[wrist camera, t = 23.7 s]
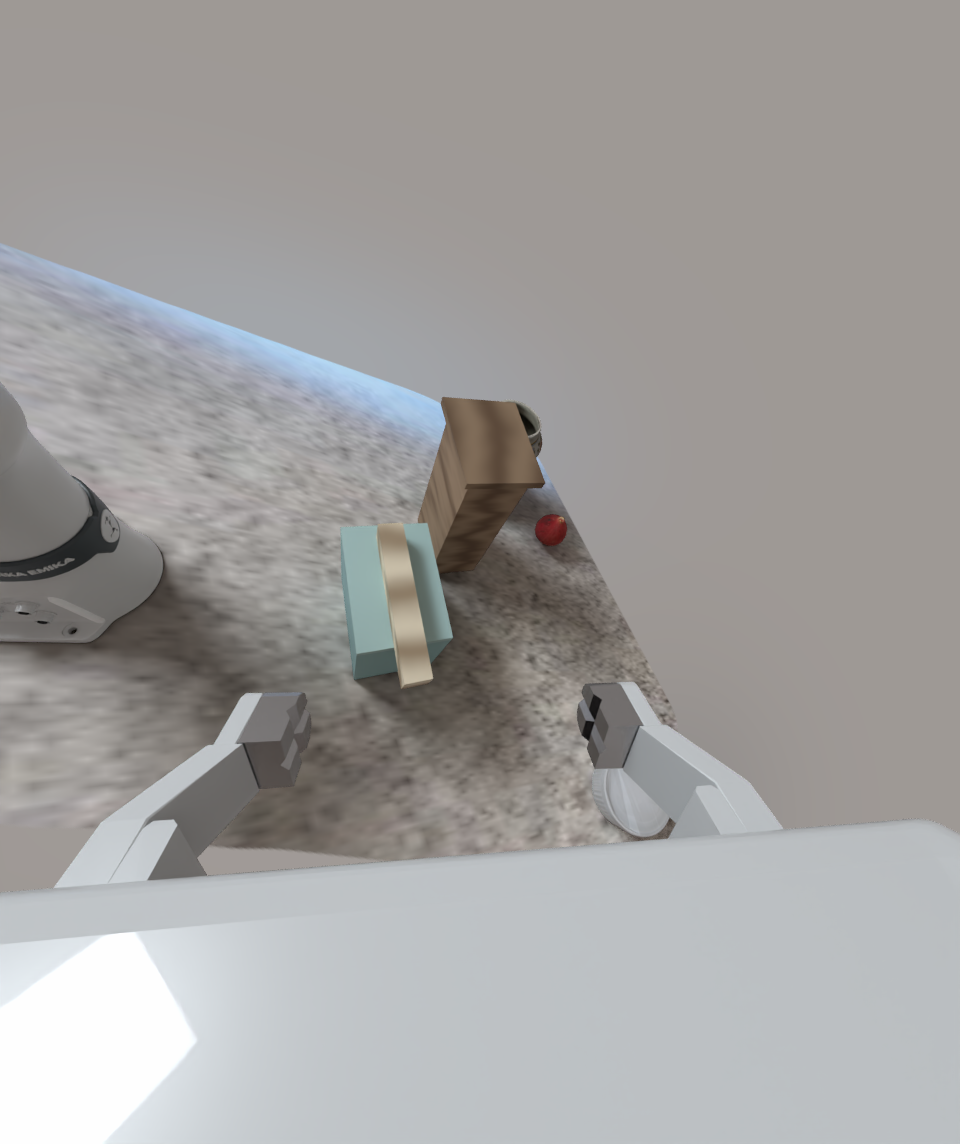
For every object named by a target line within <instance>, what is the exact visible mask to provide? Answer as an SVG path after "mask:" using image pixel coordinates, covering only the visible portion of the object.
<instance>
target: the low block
mask: <svg viewBox="0 0 960 1144" xmlns="http://www.w3.org/2000/svg"><path fill="white" fill-rule="evenodd" d="M377 526H378V525H377ZM377 526H357V527H341V571H342V585H343V593H344V601H345V610H346V618H347V626H348V634H349V643H350V651H351V659H352V667H353V676H354V680H356V679H361V678H366V677H371V676H376V675H382V674H387V673H392V672H397V671H398V669H397V663H396V656H395V650H394V644H393V638H392V632H391V626H390V619H389V613H388V607H387V601H386V595H385V589H384V583H383V576H382V570H381V564H380V558H379V552H378V546H377V539H376V534H377ZM403 526H404V531H405V536H406V541H407V546H408V551H409V557H410V562H411V567H412V572H413V577H414V582H415V587H416V592H417V598H418V603H419V608H420V613H421V618H422V623H423V628H424V633H425V639H426V644H427V649H428V654H429V659H430V664H431V663H432V662H433V661H434V659H435V658H436V657H437V656H438V655H439V654H440V652H441V651H442V650H443V649H444V648H445V647H446V645H447V644H448V643H449V642H450V641H451V640H452V638H453V635H452V630H451V626H450V621H449V617H448V612H447V608H446V604H445V599H444V595H443V590H442V586H441V581H440V577H439V572H438V568H437V564H436V559H435V555H434V550H433V546H432V541H431V537H430V532H429V528H428V524H427V523H417V524H403Z"/></svg>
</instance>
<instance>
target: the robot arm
mask: <svg viewBox="0 0 960 1144" xmlns="http://www.w3.org/2000/svg"><path fill="white" fill-rule="evenodd" d="M162 571H163V559H162V555H161V553H160V551H159V549H158V547H157V546H156V544H155V543H154V542H153V541H152V540H151V539H149V538H148V537H147V536H145V535H144V534H142V533H140V532H138V531H136V530H134V529H133V528H131V527H129V526H128V525H126V524H125V523H123V522H122V521H120V520H119V519H118V518H117V517H116V516H115V515H114V514H112V513H111V511H110V510H109V509H108V508H107V506H106V505H105V504H104V503H103V502H102V501H101V500H100V499H99V498H98V497H97V496H96V494H95V493H94V492H92V491H91V490H90V489H89V488H88V487H87V486H86V485H85V484H84V483H83V482H82V481H80V480H79V479H77V478H75V477H74V476H71V475H70V474H69V473H68V472H67V471H66V470H65V469H64V468H63V467H62V466H61V465H60V464H59V463H58V462H57V460H56V459H55V458H54V457H53V456H52V455H51V454H50V453H49V452H48V451H47V450H46V449H45V448H44V447H43V446H42V445H41V444H40V443H39V442H38V440H37V439H36V438H35V437H34V436H33V435H32V433H31V432H30V431H29V429H28V428H27V422H26V419H25V416H24V413H23V411H22V409H21V407H20V406H19V404H18V403H17V401H16V400H15V399H14V398H13V396H12V395H11V394H10V393H9V392H8V390H7V389H6V388H5V387H4V385H3V384H2V383H1V382H0V641H11V642H65V643H87V642H91V641H93V640H95V639H96V638H98V637H99V636H100V635H101V634H102V633H103V632H104V631H105V630H106V629H107V628H108V627H109V626H110V624H111V623H112V622H113V621H115V620H116V619H118V618H119V617H121V616H123V615H124V614H126V613H128V612H130V611H131V610H133V609H134V608H136V607H137V606H139V605H140V604H141V603H142V602H143V601H145V600H146V599H147V598H148V597H149V596H150V595H151V593H152V592H153V591H154V589H155V588H156V586H157V585H158V583H159V581H160V578H161V575H162ZM75 629H77V632H76V633H74V634H71V632H72V631H73V630H75ZM582 695H583V697H584V699H583V700H582V701H581V702H580V703H579V705H578V709H577V721H578V726H579V729H580V732H581V735H582V736H583V737H584V738H586V739H587V740H588V741H589V743H588V746H587V750H588V753H589V755H590V758H591V760H592V763H593V766H594V768H595V769H617V768H623V771H624V772H625V773H626V774H627V775H628V776H629V777H630V778H631V779H632V780H633V781H634V782H635V783H636V784H637V785H638V786H639V787H640V788H641V789H642V790H643V791H644V792H645V793H646V794H647V795H648V796H649V797H650V798H651V799H652V800H653V801H654V802H655V803H656V804H657V805H658V806H659V807H660V808H661V809H662V810H663V811H664V812H665V813H666V814H667V815H668V816H669V817H670V818H671V819H672V820H673V821H674V822H675V823H676V825H675V827H674V828H673V830H672V832H671V834H670V836H669V838H668V839H659V840H646V841H634V842H621V843H609V844H597V845H584V846H572V847H559V848H547V849H534V850H522V851H509V852H497V853H484V854H471V855H459V856H446V857H434V858H421V859H409V860H396V861H384V862H372V863H361V864H347V865H334V866H322V867H310V868H298V869H285V870H273V871H260V872H248V873H236V874H223V875H210V876H207V874H206V873H205V871H204V869H203V868H202V866H201V864H200V863H199V861H198V859H197V857H198V856H199V855H200V854H201V853H202V852H203V851H204V850H205V849H206V848H207V847H208V846H209V845H210V844H211V843H212V841H213V840H214V839H215V838H216V837H217V836H218V835H219V834H220V833H221V832H222V831H223V830H224V829H225V828H226V826H227V825H228V824H229V823H230V822H231V821H232V820H233V819H234V818H235V817H236V816H237V815H238V814H239V813H240V811H241V810H242V809H243V808H244V807H245V806H246V805H247V804H248V803H249V802H250V801H251V800H252V799H253V798H254V796H255V795H256V794H257V793H258V792H259V789H266V788H278V787H290V786H294V784H295V781H296V778H297V775H298V772H299V769H300V766H301V763H302V762H301V758H300V753H301V752H303V751H304V750H305V749H306V748H307V745H308V742H309V739H310V732H311V717H310V713H309V712H308V711H307V710H305V706H306V704H307V699H306V695H305V693H302V692H294V693H246V694H244V695H243V696H242V697H241V698H240V700H239V702H238V703H237V705H236V707H235V708H234V710H233V712H232V714H231V715H230V717H229V719H228V720H227V722H226V724H225V726H224V727H223V729H222V731H221V732H220V734H219V736H218V738H217V739H216V741H215V743H214V745H207V746H205V747H204V748H203V749H201V750H200V751H199V752H197V753H196V754H194V755H193V756H192V757H190V758H189V759H188V760H186V761H185V762H183V763H182V764H181V765H179V766H178V767H177V768H175V769H174V770H172V771H171V772H170V773H168V774H167V775H166V776H164V777H163V778H161V779H160V780H159V781H157V782H156V783H155V784H153V785H152V786H150V787H149V788H148V789H146V790H145V791H144V792H142V793H141V794H139V795H138V796H137V797H135V798H134V799H133V800H131V801H130V802H128V803H127V804H126V805H124V806H123V807H122V808H120V809H119V810H117V811H116V812H115V813H113V814H112V815H111V816H109V817H108V818H106V819H105V820H104V821H102V822H101V823H100V825H99V826H98V828H97V829H96V830H95V832H94V833H93V834H92V836H91V837H90V839H89V840H88V841H87V843H86V844H85V846H84V847H83V848H82V850H81V851H80V853H79V854H78V855H77V856H76V858H75V859H74V861H73V862H72V863H71V865H70V866H69V867H68V869H67V870H66V872H65V873H64V875H63V876H62V877H61V879H60V880H59V881H58V883H57V884H56V886H55V887H54V888H49V889H37V890H23V891H11V892H0V1144H960V833H958V832H956V831H954V830H952V829H950V828H948V827H945V826H943V825H941V824H939V823H937V822H934V821H931V820H926V819H902V820H892V821H881V822H868V823H856V824H843V825H831V826H818V827H806V828H795V829H783V828H782V826H781V825H780V824H779V822H778V821H777V819H776V818H775V817H774V815H773V814H772V813H771V811H770V810H769V809H768V807H767V806H766V804H765V803H764V802H763V800H762V799H761V798H760V796H759V795H758V794H757V792H756V791H755V790H754V788H753V787H752V786H751V784H750V783H749V782H748V781H747V780H746V779H744V778H743V777H741V776H740V775H738V774H737V773H735V772H734V771H733V770H731V769H730V768H728V767H727V766H725V765H724V764H722V763H721V762H719V761H718V760H717V759H715V758H714V757H712V756H711V755H709V754H708V753H706V752H705V751H704V750H702V749H701V748H699V747H698V746H696V745H695V744H693V743H692V742H691V741H689V740H688V739H686V738H685V737H683V736H682V735H680V734H679V733H678V732H676V731H675V730H673V729H672V728H670V727H669V726H667V725H662V724H661V723H660V721H659V719H658V718H657V716H656V715H655V713H654V711H653V710H652V708H651V707H650V705H649V703H648V702H647V700H646V699H645V697H644V695H643V694H642V692H641V691H640V689H639V687H638V686H637V684H635V683H634V682H618V683H590V684H585V685H584V686H583V689H582Z"/></svg>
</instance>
